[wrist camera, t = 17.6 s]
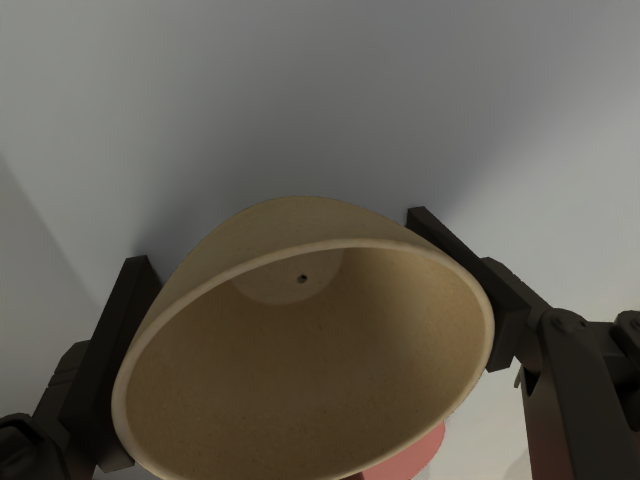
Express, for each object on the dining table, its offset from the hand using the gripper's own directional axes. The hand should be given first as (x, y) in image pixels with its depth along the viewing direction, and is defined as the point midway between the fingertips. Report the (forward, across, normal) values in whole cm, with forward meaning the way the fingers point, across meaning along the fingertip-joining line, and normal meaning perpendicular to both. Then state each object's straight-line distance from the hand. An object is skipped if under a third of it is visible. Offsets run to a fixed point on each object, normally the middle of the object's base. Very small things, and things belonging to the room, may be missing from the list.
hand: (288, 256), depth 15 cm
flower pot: (0, 0, 0) cm, 0 cm away
